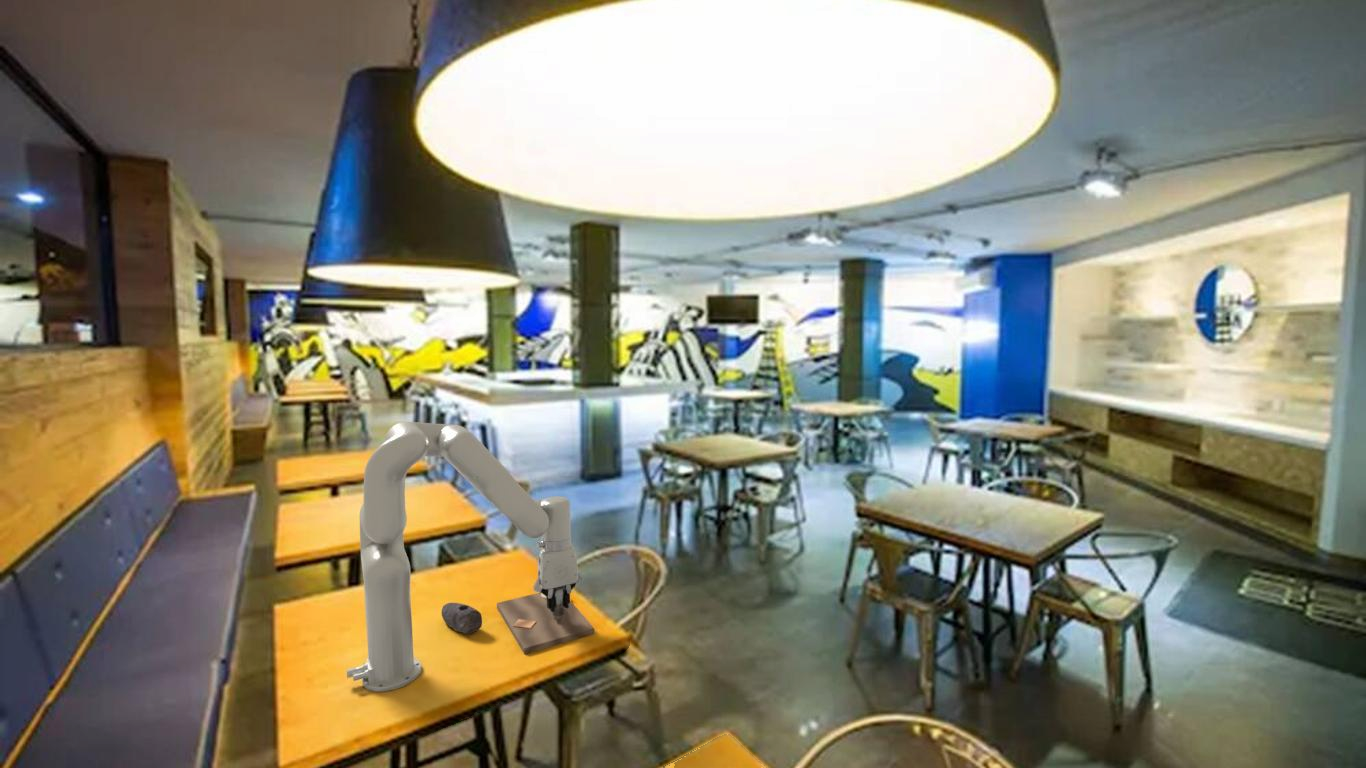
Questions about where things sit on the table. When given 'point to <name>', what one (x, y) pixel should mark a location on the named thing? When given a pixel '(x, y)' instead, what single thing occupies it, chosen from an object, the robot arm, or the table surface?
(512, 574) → the table surface
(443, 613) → the perforated stone tool
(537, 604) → the board
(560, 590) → the press lever
